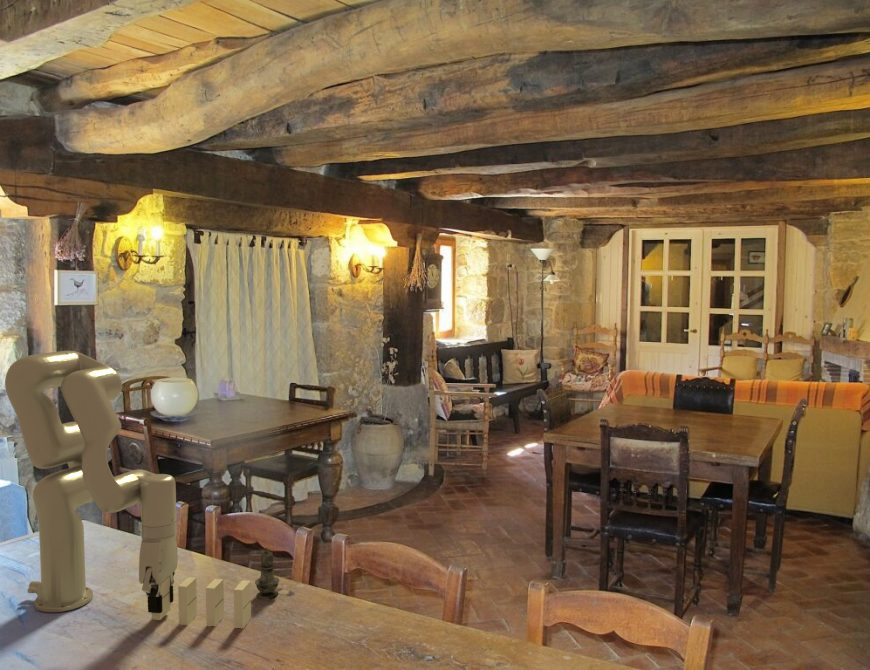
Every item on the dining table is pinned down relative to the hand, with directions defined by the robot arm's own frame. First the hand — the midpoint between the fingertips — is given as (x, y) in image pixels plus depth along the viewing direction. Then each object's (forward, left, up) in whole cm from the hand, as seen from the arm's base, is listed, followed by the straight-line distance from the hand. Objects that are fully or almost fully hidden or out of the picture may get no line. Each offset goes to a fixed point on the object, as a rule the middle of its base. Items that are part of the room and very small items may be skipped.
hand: (160, 606), depth 170 cm
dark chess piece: (+20, +15, -3) cm, 25 cm away
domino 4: (+19, 0, -3) cm, 20 cm away
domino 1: (0, 0, -2) cm, 2 cm away
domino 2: (+6, 0, -3) cm, 7 cm away
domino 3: (+13, 0, -3) cm, 13 cm away
